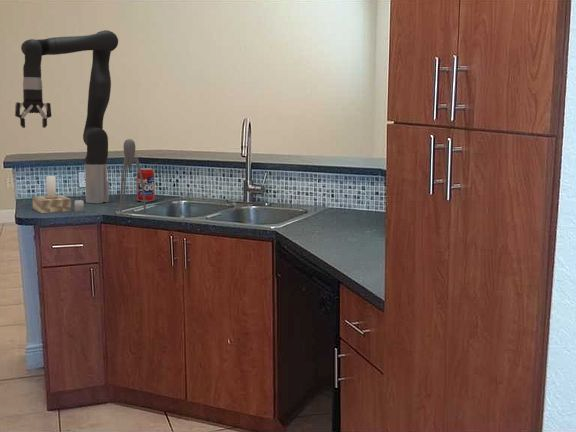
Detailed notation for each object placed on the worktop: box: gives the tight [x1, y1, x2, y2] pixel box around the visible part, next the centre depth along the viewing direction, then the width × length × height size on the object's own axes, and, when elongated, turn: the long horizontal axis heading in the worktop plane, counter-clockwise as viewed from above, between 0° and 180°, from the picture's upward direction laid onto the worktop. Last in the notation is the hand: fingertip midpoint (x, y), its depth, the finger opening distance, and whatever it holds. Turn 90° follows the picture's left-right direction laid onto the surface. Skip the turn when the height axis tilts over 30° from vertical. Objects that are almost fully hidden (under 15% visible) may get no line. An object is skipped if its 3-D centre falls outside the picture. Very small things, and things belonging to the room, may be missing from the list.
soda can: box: [136, 167, 155, 203], centre depth 326 cm, size 8×8×15 cm
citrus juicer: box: [119, 138, 147, 213], centre depth 295 cm, size 11×10×30 cm
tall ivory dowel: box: [45, 175, 57, 199], centre depth 295 cm, size 4×4×14 cm
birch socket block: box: [31, 195, 72, 214], centre depth 296 cm, size 12×12×5 cm
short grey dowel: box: [74, 199, 85, 213], centre depth 294 cm, size 4×4×4 cm
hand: (33, 127), depth 301 cm, fingers open, 8 cm apart
